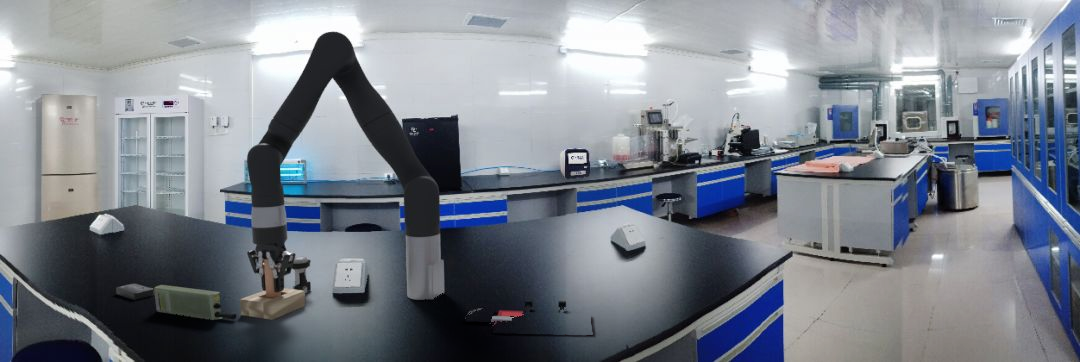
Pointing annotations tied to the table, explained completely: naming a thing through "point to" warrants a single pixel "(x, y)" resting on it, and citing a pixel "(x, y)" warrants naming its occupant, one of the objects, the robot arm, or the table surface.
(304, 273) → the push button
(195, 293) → the handheld radio
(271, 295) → the peg
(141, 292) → the multiport hub
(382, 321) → the table surface
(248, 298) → the socket block
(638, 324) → the table surface
